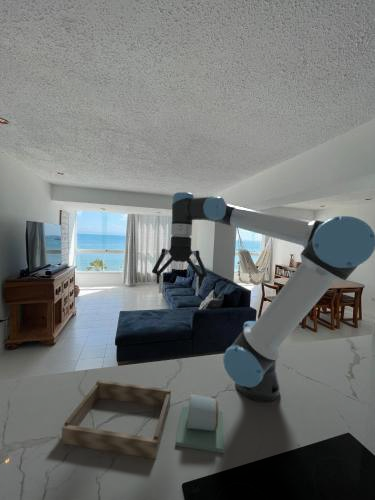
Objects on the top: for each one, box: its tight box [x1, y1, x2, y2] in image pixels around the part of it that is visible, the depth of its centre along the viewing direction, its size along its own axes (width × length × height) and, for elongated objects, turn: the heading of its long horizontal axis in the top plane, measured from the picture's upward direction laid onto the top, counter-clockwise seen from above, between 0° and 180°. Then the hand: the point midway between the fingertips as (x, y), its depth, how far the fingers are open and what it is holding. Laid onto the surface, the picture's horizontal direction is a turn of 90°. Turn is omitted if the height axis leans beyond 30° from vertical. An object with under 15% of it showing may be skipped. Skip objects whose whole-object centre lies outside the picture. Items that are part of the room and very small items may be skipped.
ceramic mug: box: [187, 393, 220, 431], centre depth 62 cm, size 11×8×8 cm
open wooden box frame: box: [61, 379, 172, 459], centre depth 61 cm, size 24×17×5 cm
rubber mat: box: [175, 405, 225, 454], centre depth 60 cm, size 12×12×1 cm
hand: (178, 293), depth 81 cm, fingers open, 13 cm apart
